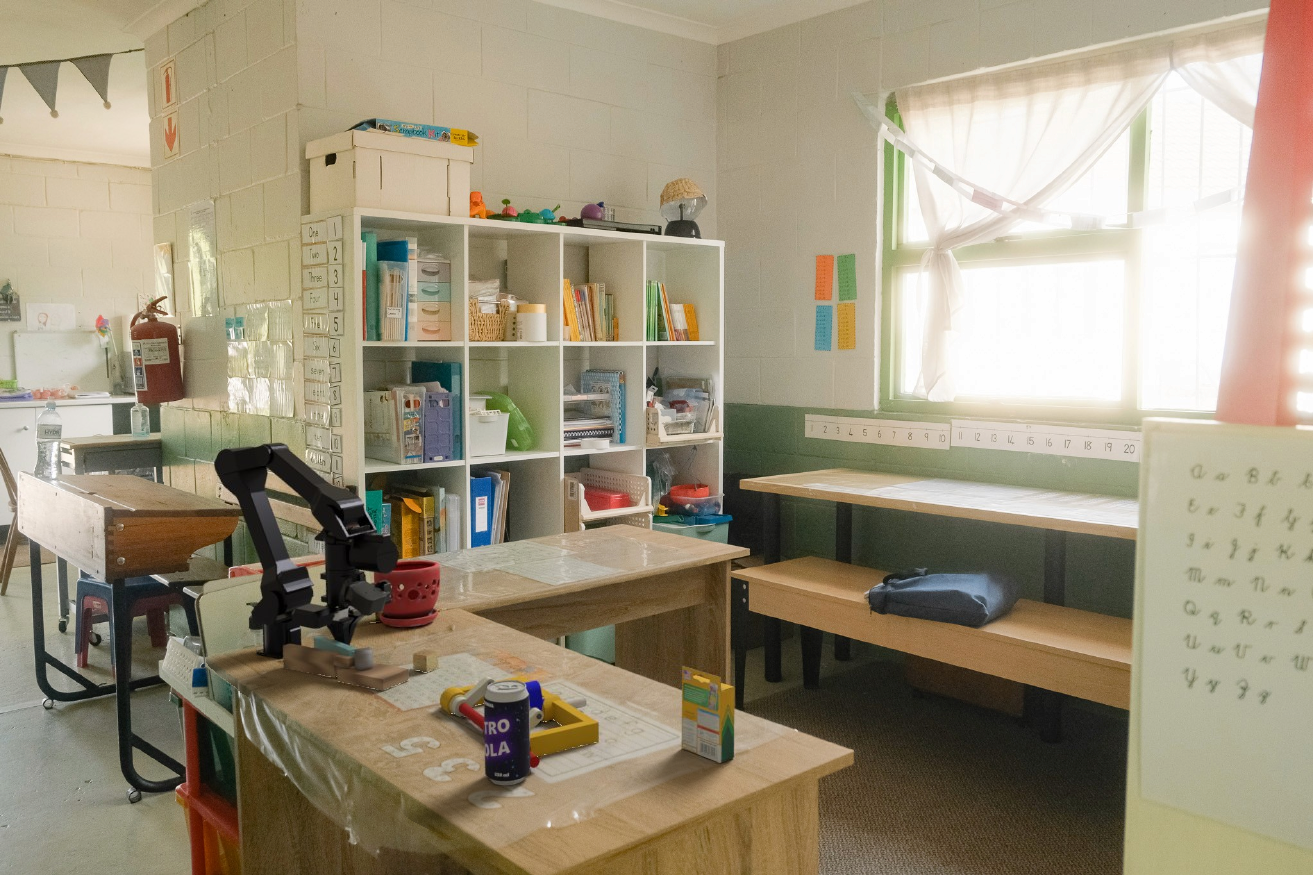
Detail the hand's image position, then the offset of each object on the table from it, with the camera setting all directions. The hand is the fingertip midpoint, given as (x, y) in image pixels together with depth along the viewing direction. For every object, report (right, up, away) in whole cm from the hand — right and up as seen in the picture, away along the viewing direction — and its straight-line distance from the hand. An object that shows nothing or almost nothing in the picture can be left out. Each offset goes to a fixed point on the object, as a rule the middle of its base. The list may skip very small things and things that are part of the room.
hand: (344, 652), depth 174 cm
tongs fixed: (+2, -2, -8) cm, 9 cm away
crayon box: (+63, -5, -42) cm, 75 cm away
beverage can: (+37, -5, -50) cm, 62 cm away
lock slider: (+16, -2, -5) cm, 17 cm away
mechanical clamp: (+38, -5, -31) cm, 49 cm away
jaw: (0, -2, -4) cm, 4 cm away
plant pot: (+5, 0, +27) cm, 27 cm away
